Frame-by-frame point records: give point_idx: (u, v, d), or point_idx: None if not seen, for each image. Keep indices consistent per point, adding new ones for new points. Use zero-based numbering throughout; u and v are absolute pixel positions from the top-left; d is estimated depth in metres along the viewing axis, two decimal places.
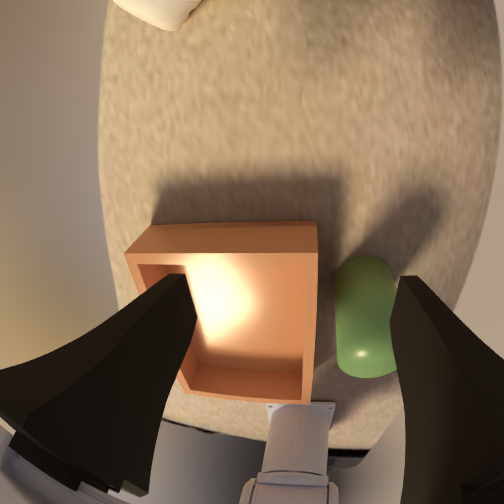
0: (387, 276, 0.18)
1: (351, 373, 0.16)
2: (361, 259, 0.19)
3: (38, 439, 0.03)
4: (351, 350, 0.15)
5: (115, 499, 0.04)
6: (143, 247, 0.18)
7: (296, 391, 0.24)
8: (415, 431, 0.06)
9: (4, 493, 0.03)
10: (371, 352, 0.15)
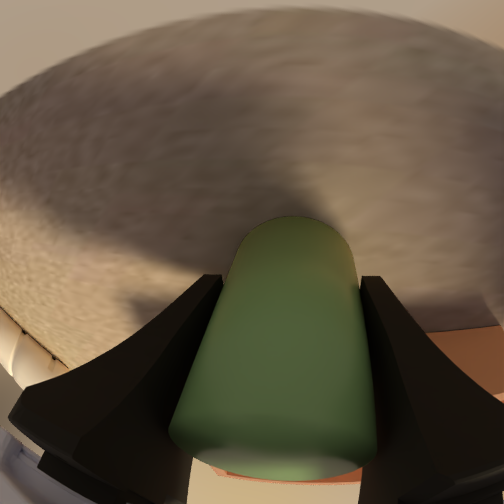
0: (229, 272, 0.09)
1: (339, 473, 0.05)
2: None
3: (88, 467, 0.03)
4: (251, 471, 0.06)
5: None
6: None
7: None
8: None
9: (4, 493, 0.03)
10: (256, 460, 0.05)
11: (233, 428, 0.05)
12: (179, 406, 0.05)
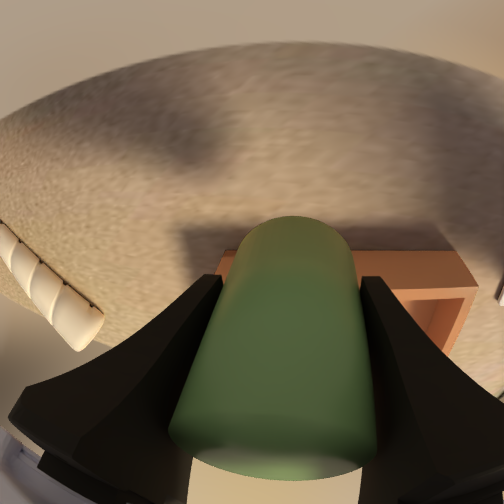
0: (229, 272, 0.09)
1: (339, 472, 0.05)
2: None
3: (88, 467, 0.03)
4: (251, 471, 0.06)
5: None
6: None
7: None
8: None
9: (4, 493, 0.03)
10: (256, 459, 0.05)
11: (232, 427, 0.05)
12: (179, 406, 0.05)
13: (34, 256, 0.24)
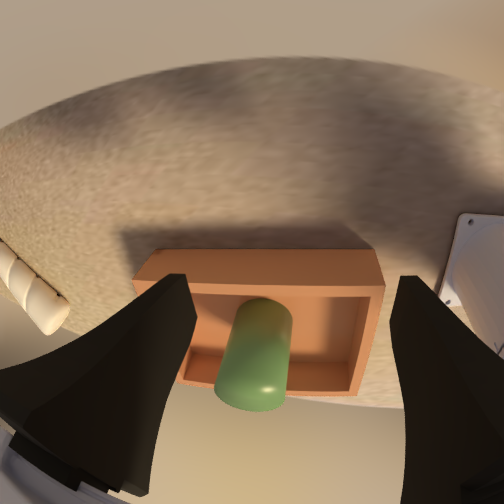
0: (233, 324, 0.21)
1: (276, 405, 0.17)
2: None
3: (38, 439, 0.03)
4: (243, 405, 0.18)
5: (115, 499, 0.04)
6: None
7: None
8: (415, 431, 0.06)
9: (4, 493, 0.03)
10: (244, 397, 0.17)
11: (236, 381, 0.16)
12: (218, 376, 0.17)
13: (13, 253, 0.26)
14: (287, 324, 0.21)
